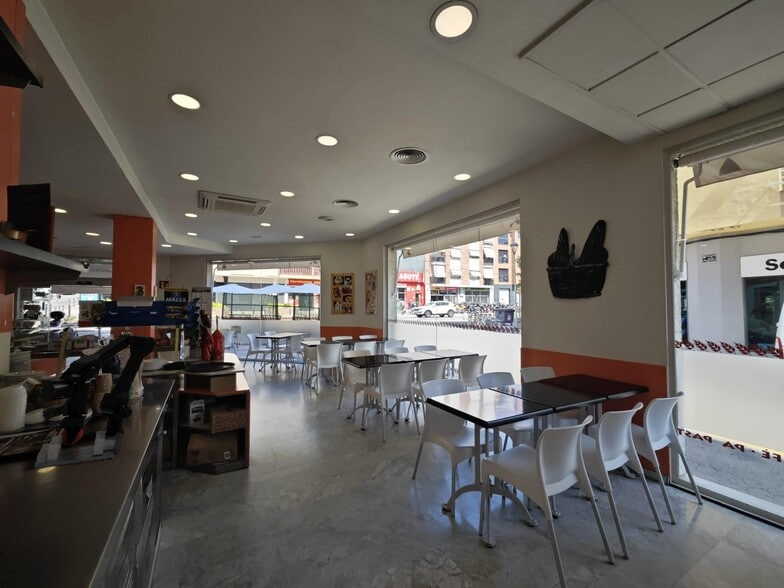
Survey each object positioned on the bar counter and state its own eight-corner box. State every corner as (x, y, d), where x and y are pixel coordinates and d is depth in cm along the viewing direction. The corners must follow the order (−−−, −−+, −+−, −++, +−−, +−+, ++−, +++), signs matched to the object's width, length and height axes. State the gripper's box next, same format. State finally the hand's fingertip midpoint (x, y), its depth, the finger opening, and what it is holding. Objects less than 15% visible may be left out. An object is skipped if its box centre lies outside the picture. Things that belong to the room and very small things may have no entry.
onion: (67, 449, 120) (71, 425, 120) (54, 446, 121) (58, 423, 122) (85, 444, 125) (89, 421, 126) (72, 441, 127) (76, 419, 127)
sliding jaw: (94, 446, 121) (96, 431, 122) (119, 443, 126) (122, 429, 126) (92, 455, 114) (95, 439, 115) (119, 452, 119) (122, 436, 119)
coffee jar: (107, 413, 161) (114, 372, 163) (129, 412, 166) (135, 372, 167) (104, 419, 153) (111, 376, 155) (127, 418, 158) (133, 376, 159)
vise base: (41, 454, 114) (44, 435, 115) (114, 446, 126) (117, 429, 127) (34, 468, 105) (37, 447, 106) (114, 458, 117) (117, 439, 117)
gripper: (51, 391, 127) (43, 435, 126) (42, 403, 112) (33, 453, 111) (91, 390, 134) (84, 432, 133) (87, 401, 119) (80, 448, 118)
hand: (70, 441), depth 123 cm, fingers closed on onion, 6 cm apart
